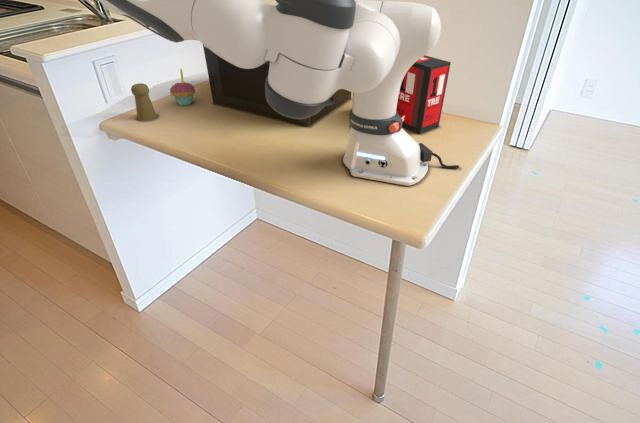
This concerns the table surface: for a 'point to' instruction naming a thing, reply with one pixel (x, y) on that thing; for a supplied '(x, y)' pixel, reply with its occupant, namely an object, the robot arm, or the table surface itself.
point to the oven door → (242, 87)
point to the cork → (143, 102)
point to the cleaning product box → (423, 94)
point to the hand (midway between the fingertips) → (196, 8)
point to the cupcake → (182, 92)
